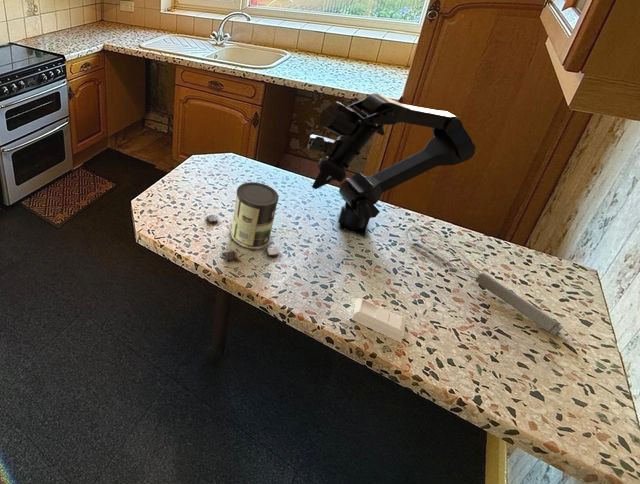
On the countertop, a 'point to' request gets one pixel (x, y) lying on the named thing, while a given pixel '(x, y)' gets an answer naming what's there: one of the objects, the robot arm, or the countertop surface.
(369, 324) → the soap bar
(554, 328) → the kitchen whisk
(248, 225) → the coffee can
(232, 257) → the tabs
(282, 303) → the countertop surface
